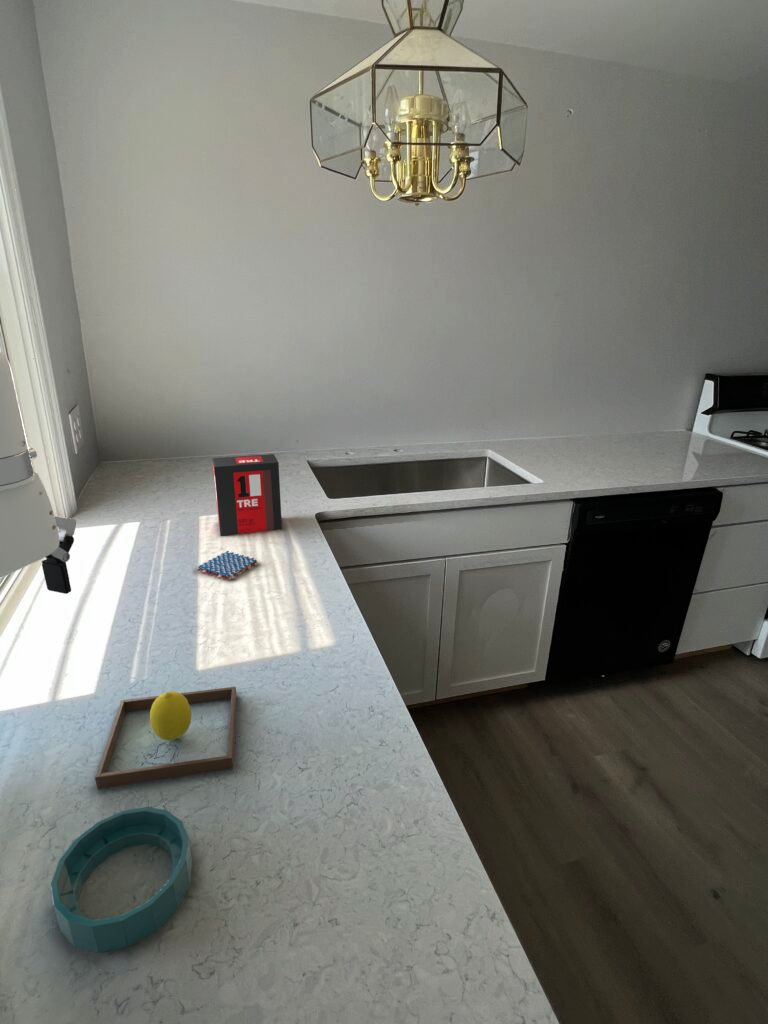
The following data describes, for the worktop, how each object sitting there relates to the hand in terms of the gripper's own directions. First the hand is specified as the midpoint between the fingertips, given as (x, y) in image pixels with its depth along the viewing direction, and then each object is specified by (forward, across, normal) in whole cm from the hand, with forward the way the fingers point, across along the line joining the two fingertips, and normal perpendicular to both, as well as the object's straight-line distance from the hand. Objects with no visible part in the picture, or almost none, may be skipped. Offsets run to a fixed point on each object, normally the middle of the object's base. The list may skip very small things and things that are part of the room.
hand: (25, 610), depth 65 cm
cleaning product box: (+26, -85, -23) cm, 92 cm away
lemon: (+26, -11, +9) cm, 29 cm away
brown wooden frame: (+26, -11, +9) cm, 30 cm away
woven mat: (+26, -61, -14) cm, 68 cm away
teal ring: (+26, +9, +18) cm, 33 cm away
